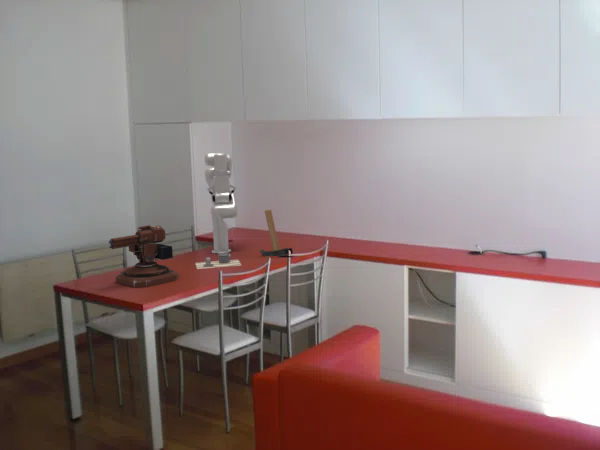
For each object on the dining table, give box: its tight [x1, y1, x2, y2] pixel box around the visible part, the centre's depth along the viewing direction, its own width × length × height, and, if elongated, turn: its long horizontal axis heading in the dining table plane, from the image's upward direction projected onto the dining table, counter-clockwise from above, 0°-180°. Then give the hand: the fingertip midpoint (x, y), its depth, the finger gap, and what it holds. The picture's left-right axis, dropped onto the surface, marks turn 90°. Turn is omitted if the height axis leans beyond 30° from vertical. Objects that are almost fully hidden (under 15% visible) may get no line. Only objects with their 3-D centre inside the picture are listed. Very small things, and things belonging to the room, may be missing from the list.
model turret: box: [108, 225, 179, 288], centre depth 381 cm, size 28×35×30 cm
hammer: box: [258, 209, 293, 257], centre depth 439 cm, size 20×5×30 cm, turn 70°
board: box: [195, 257, 242, 270], centre depth 416 cm, size 18×26×6 cm
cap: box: [217, 253, 231, 263], centre depth 420 cm, size 7×7×5 cm
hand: (222, 201), depth 430 cm, fingers open, 9 cm apart
